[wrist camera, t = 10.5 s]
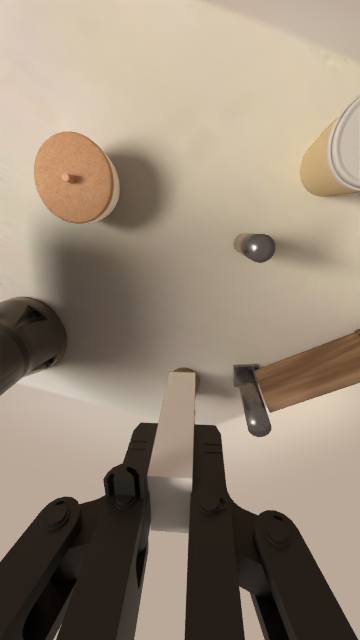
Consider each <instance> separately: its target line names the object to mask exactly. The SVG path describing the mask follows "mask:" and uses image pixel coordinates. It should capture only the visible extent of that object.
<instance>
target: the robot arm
mask: <svg viewBox="0 0 360 640" xmlns="http://www.w3.org/2000/svg"><path fill="white" fill-rule="evenodd" d="M65 348H66V333H65V329H64V327H63V324H62V322H61V321H60V319H59V318H58V316H57V315H56V314H55V313H54V312H53V311H52V310H51V309H50V308H49V307H48V306H46V305H45V304H43V303H41V302H39V301H37V300H35V299H32V298H27V297H16V298H12V299H9V300H6V301H3V302H1V303H0V395H1V394H3V393H4V392H5V391H6V390H8V389H9V388H10V387H11V386H12V385H14V384H15V383H16V382H17V381H19V380H20V379H21V378H22V377H25V376H28V375H31V374H34V373H37V372H40V371H43V370H46V369H47V368H49V367H51V366H52V365H53V364H54V363H56V362H57V361H58V360H59V359H60V358H61V357H62V355H63V353H64V351H65ZM194 424H195V373H191V372H169V377H168V381H167V386H166V390H165V395H164V400H163V404H162V409H161V414H160V418H159V423H140V424H139V425H138V426H137V428H136V429H135V430H134V431H133V434H132V438H131V442H130V443H129V446H128V450H127V453H126V456H125V459H124V461H123V464H120V465H118V466H116V467H113V468H112V469H111V470H110V471H109V472H108V473H107V474H106V476H105V478H104V487H105V494H106V495H105V496H103V497H101V498H99V499H97V500H94V501H90V502H86V503H83V504H78V501H77V500H75V499H74V498H72V497H62V498H58V499H56V500H54V501H52V502H51V503H49V504H48V505H47V506H46V507H45V508H44V509H43V510H42V511H41V512H40V513H39V514H38V516H37V517H36V519H34V521H33V522H32V523H31V524H30V526H29V527H28V528H27V530H26V531H25V532H24V533H23V534H22V536H21V537H20V538H19V539H18V541H17V542H16V543H15V544H14V546H13V547H12V548H11V549H10V551H9V552H8V553H7V554H6V556H5V557H4V558H3V559H2V561H1V562H0V640H53V639H54V637H55V635H56V633H57V631H58V629H59V628H60V630H59V633H58V636H57V639H56V640H134V636H135V630H136V623H137V618H138V611H139V605H140V599H141V592H142V586H143V580H144V574H145V567H146V561H147V555H148V535H149V529H150V525H151V530H155V531H167V532H179V533H180V532H181V533H189V543H188V568H187V569H188V570H187V594H186V621H185V640H245V637H244V629H243V619H242V609H241V600H240V591H239V586H240V587H242V588H243V589H246V590H247V591H249V592H250V594H251V598H252V601H253V604H254V607H255V610H256V613H257V616H258V620H259V623H260V626H261V629H262V632H263V636H264V639H265V640H358V639H357V637H356V635H355V633H354V631H353V629H352V628H351V626H350V624H349V622H348V620H347V618H346V617H345V615H344V613H343V611H342V609H341V607H340V606H339V604H338V602H337V600H336V598H335V597H334V595H333V593H332V591H331V589H330V588H329V585H328V584H327V582H326V580H325V578H324V576H323V574H322V572H321V571H320V569H319V567H318V565H317V563H316V561H315V560H314V558H313V556H312V554H311V552H310V550H309V548H308V547H307V545H306V543H305V541H304V539H303V538H302V536H301V534H300V532H299V530H298V529H297V527H296V526H295V524H294V523H293V522H292V520H290V519H289V518H288V517H287V516H285V515H284V514H282V513H280V512H277V511H270V510H267V511H264V512H262V513H260V514H259V516H258V515H256V514H253V513H251V512H249V511H246V510H244V509H242V508H241V507H239V506H238V505H237V504H236V503H234V501H233V500H232V499H231V498H230V496H229V494H228V492H227V488H226V480H225V472H224V471H225V470H224V462H223V452H222V441H221V434H220V432H219V431H218V429H217V427H216V426H214V425H194ZM61 624H62V625H61ZM60 626H61V627H60Z"/></svg>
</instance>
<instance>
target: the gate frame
mask: <svg viewBox="0 0 360 640" xmlns="http://www.w3.org/2000/svg"><path fill="white" fill-rule="evenodd" d="M234 247H235V249H236V250H237V251H238V252H240V253H241V254H243V255H245V256H246V257H248V258H249V259H251V260H253V261H255V262H258V263H262V262H265V261H267V260H269V259H270V258H271V257H272V256H273V254H274V252H275V242H274V240H273V239H272V238H271V237H270V236H268V235H265V234H240V235H239V236H237V237H236V239H235V241H234ZM233 368H234V387H239V388H240V393H241V397H242V402H243V407H244V412H245V416H246V421H247V425H248V430H249V432H250V433H251V434H252V435H254V436H257V437H263V436H266V435H267V434H269V432H270V431H271V424H270V421H269V418H268V415H267V412H266V409H265V406H264V403H263V400H262V397H261V394H260V391H259V388H258V379H257V376H256V374H255V371H256V370H258V366H257V364H254V365H233Z"/></svg>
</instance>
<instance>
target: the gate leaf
mask: <svg viewBox="0 0 360 640" xmlns="http://www.w3.org/2000/svg"><path fill="white" fill-rule="evenodd" d="M255 374H256V376H257V379H258V382H259V385H260V388H261V391H262V394H263V397H264V399H265V402H266V405H267V407H268V409H269V411H270V412H273V411H277V410H280V409H283V408H285V407H288V406H291V405H294V404H297V403H300V402H303V401H306V400H309V399H312V398H315V397H318V396H321V395H324V394H327V393H330V392H333V391H336V390H339V389H342V388H345V387H348V386H351V385H354V384H357V383H360V329H358V330H356V331H355V333H352V334H350V335H347V336H345V337H342V338H339V339H337V340H334V341H331V342H329V343H326V344H324V345H321V346H318V347H316V348H313V349H311V350H308V351H305V352H303V353H300V354H297V355H295V356H292V357H290V358H287V359H284V360H282V361H279V362H277V363H274V364H271V365H269V366H266V367H264V368H261V369H258V370H256V371H255Z"/></svg>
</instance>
